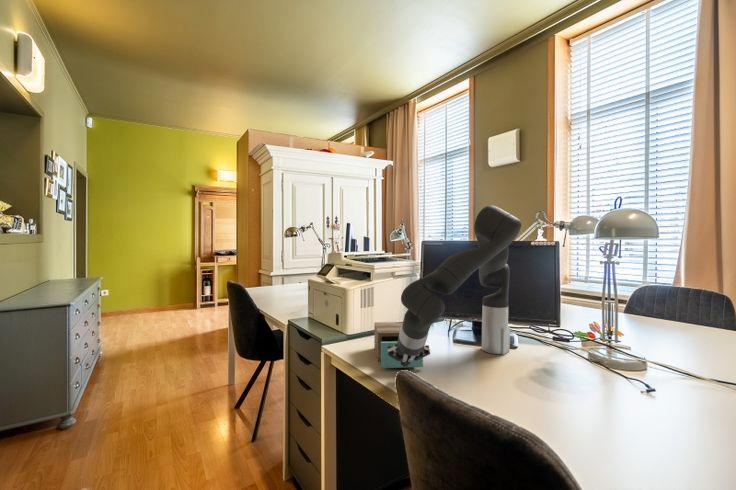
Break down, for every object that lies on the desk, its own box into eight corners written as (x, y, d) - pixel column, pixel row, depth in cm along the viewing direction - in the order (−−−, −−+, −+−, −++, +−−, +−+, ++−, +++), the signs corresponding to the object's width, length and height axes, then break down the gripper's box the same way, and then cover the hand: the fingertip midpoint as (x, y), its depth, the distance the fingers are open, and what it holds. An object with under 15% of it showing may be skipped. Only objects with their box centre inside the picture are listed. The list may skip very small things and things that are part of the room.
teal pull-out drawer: (423, 367, 116) (423, 342, 116) (381, 368, 115) (381, 343, 115) (414, 352, 130) (414, 330, 130) (377, 353, 129) (377, 331, 129)
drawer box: (417, 360, 125) (418, 332, 125) (378, 361, 124) (378, 333, 124) (410, 347, 139) (410, 321, 139) (374, 348, 138) (374, 322, 138)
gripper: (390, 349, 95) (384, 376, 108) (439, 348, 96) (427, 374, 109) (387, 324, 100) (382, 352, 113) (434, 323, 101) (424, 351, 114)
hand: (404, 363), depth 111 cm, fingers closed
